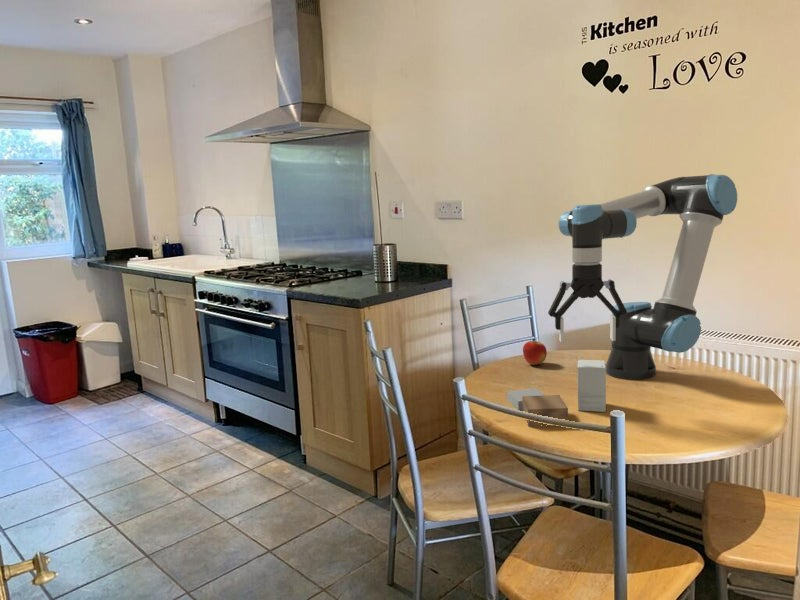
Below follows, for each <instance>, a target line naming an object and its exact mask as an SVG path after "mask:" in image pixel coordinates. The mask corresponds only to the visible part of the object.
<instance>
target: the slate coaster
mask: <svg viewBox="0 0 800 600" xmlns="http://www.w3.org/2000/svg"><path fill="white" fill-rule="evenodd" d="M543 395H545V394H544V393H543V392H542V391H541V390H539V389H538V388H536V387H533V388H524V389H516V390H508V391H506V396H507V397H506V401H507V402H509V403H510V404H511V405H512V406H513V407H514V408H515V409H517V410H518V411H523V407H522V396H543Z"/></svg>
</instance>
